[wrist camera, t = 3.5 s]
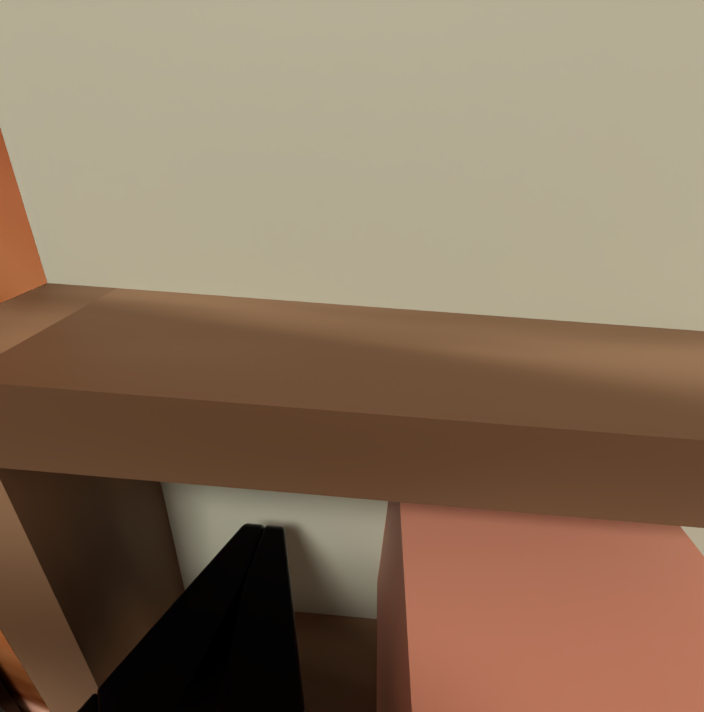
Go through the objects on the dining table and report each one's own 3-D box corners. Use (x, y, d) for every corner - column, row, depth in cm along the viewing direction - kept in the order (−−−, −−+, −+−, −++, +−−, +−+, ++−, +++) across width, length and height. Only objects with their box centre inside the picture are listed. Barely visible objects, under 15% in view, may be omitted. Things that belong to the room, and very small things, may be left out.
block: (559, 599, 10) (678, 899, 6) (376, 582, 10) (375, 866, 6) (627, 458, 8) (878, 779, 4) (396, 440, 8) (413, 734, 4)
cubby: (541, 659, 11) (591, 818, 9) (151, 622, 12) (83, 765, 9) (709, 331, 7) (929, 458, 4) (48, 282, 7) (-158, 371, 4)
